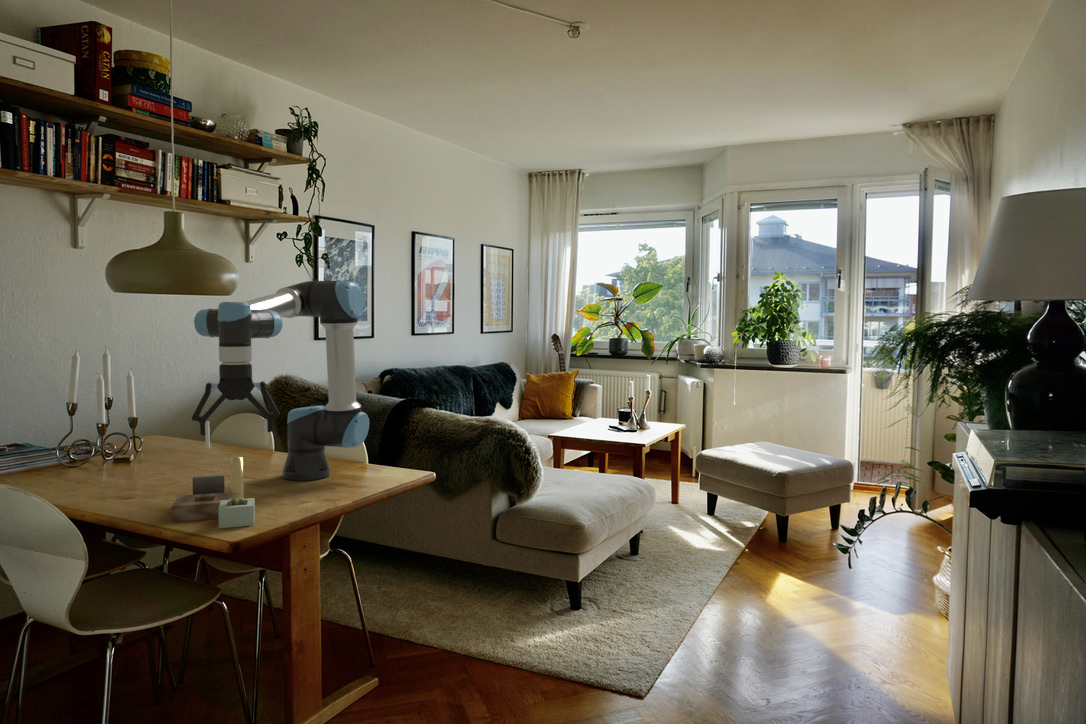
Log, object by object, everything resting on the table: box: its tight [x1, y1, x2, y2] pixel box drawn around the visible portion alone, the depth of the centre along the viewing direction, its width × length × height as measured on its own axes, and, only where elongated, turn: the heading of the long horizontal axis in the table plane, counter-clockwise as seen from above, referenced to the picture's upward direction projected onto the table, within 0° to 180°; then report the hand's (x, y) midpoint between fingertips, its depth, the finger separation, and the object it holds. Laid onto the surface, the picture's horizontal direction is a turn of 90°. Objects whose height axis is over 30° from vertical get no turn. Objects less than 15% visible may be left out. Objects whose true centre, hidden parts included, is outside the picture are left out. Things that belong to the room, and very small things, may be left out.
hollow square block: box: [218, 497, 256, 529], centre depth 174 cm, size 8×8×5 cm
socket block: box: [171, 491, 230, 523], centre depth 182 cm, size 14×11×4 cm
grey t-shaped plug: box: [192, 474, 226, 495], centre depth 188 cm, size 8×10×7 cm
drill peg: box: [228, 455, 245, 506], centre depth 174 cm, size 3×3×16 cm
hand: (237, 446), depth 174 cm, fingers open, 13 cm apart
